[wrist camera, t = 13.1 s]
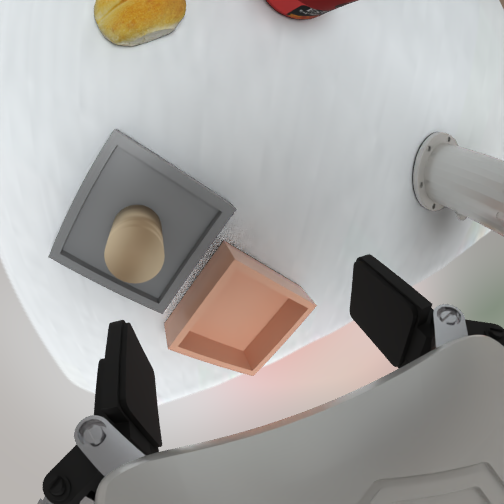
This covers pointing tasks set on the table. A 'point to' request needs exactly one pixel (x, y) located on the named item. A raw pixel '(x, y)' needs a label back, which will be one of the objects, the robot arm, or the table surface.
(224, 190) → the table surface
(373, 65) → the table surface
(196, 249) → the charcoal tray
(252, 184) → the table surface
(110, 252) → the beech cylinder
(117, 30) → the bread roll
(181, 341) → the salmon square tray
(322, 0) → the canned food
